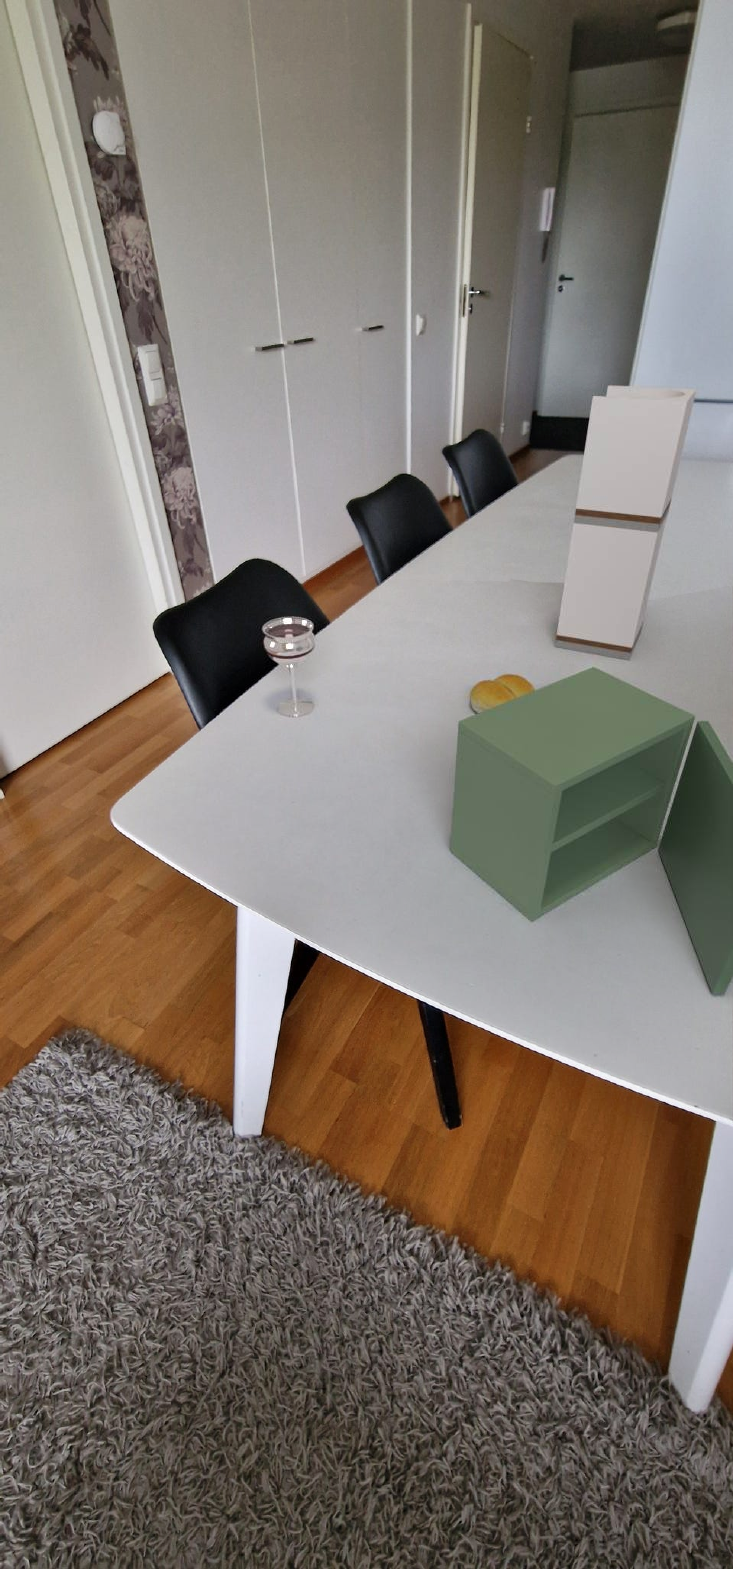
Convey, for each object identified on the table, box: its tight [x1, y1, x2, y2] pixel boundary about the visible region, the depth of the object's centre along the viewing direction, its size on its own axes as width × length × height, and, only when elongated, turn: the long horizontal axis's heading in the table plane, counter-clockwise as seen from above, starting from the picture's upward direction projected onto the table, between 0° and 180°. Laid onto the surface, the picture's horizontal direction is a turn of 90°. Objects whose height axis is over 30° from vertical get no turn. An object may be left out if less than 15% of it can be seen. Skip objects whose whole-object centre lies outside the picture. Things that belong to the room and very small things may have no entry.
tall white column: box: [554, 384, 697, 661], centre depth 102 cm, size 11×11×35 cm
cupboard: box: [449, 666, 696, 923], centre depth 69 cm, size 12×18×16 cm, turn 124°
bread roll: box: [469, 673, 536, 714], centre depth 96 cm, size 8×9×4 cm
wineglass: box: [261, 616, 316, 718], centre depth 94 cm, size 7×7×12 cm
